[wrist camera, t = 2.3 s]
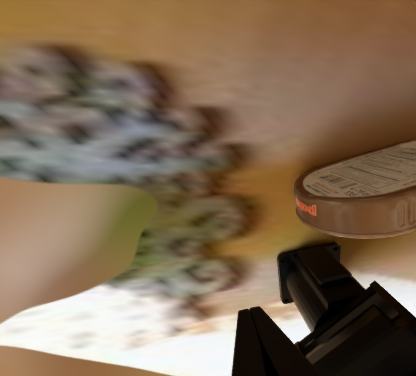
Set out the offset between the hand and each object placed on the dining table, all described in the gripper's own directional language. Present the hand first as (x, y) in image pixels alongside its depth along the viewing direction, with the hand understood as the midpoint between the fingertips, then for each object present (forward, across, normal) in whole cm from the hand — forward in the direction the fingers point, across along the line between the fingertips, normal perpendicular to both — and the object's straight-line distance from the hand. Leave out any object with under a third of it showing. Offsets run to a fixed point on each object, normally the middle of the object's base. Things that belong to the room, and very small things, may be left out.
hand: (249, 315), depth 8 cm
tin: (+12, -14, 0) cm, 18 cm away
